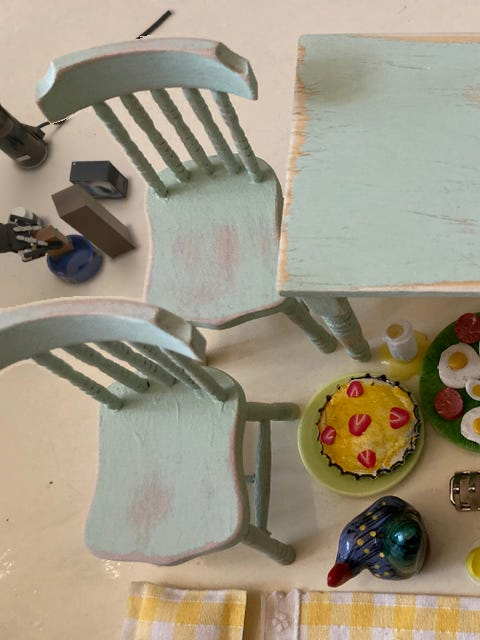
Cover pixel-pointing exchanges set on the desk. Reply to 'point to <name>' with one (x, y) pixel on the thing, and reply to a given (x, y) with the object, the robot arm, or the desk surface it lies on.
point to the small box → (99, 179)
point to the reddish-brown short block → (55, 235)
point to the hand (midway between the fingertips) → (59, 238)
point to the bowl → (77, 261)
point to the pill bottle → (28, 215)
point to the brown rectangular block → (93, 220)
